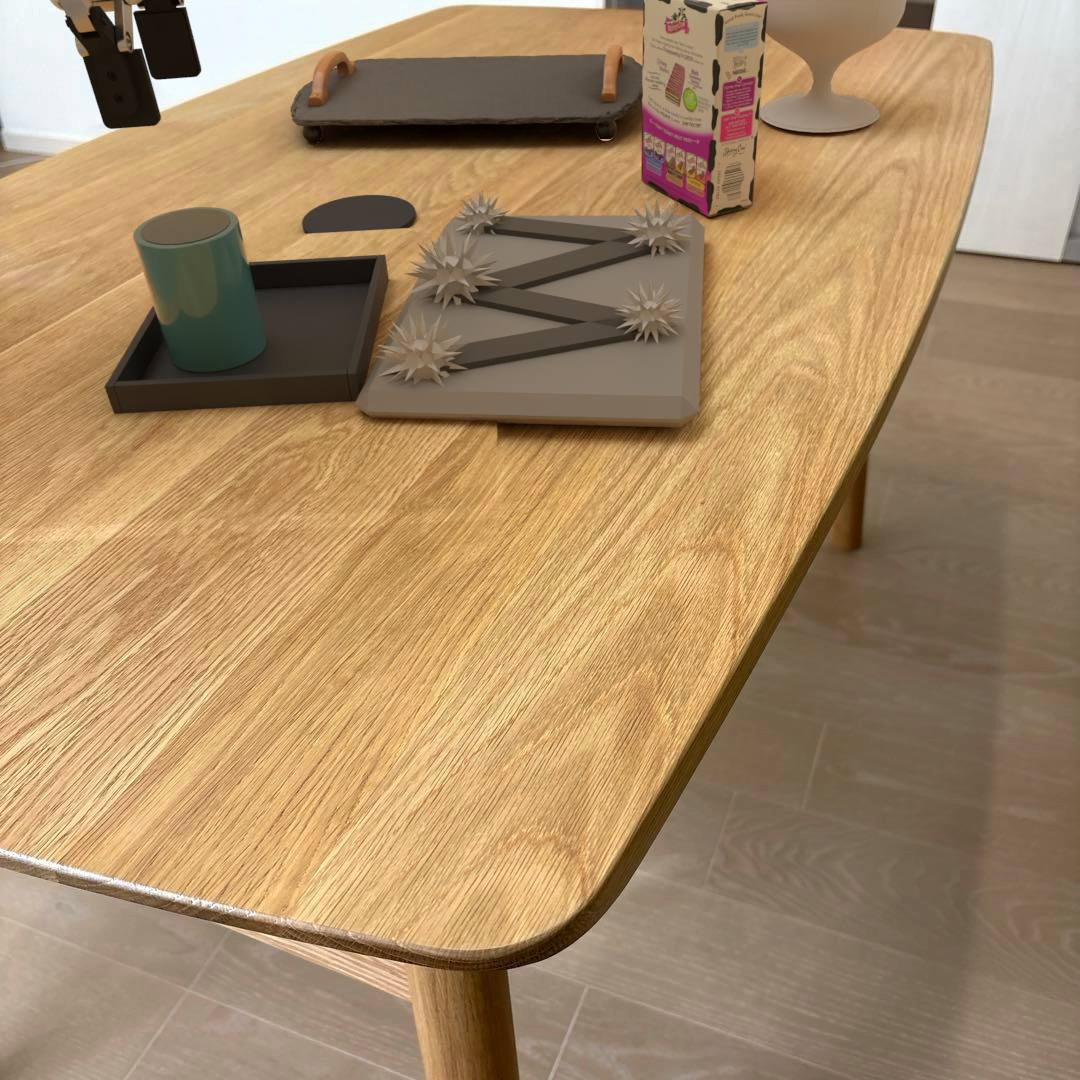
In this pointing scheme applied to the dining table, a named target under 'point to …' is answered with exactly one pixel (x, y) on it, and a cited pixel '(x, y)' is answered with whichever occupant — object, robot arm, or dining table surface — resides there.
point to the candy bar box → (702, 100)
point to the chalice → (826, 58)
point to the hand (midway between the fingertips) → (157, 99)
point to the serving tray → (470, 91)
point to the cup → (201, 288)
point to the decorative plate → (549, 322)
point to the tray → (271, 343)
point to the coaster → (360, 214)
